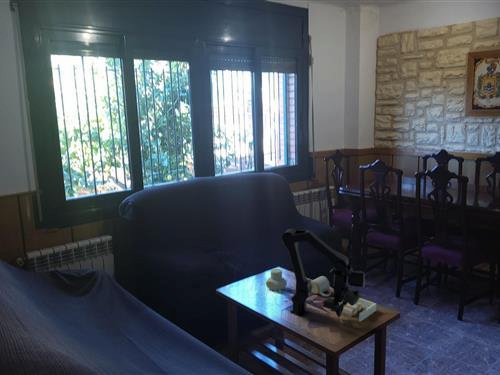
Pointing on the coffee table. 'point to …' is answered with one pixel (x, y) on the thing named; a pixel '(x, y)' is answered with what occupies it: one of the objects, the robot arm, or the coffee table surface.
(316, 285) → the ceramic mug
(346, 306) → the tile
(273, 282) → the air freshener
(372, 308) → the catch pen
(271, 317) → the coffee table surface
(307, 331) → the coffee table surface
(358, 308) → the tile
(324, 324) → the coffee table surface
